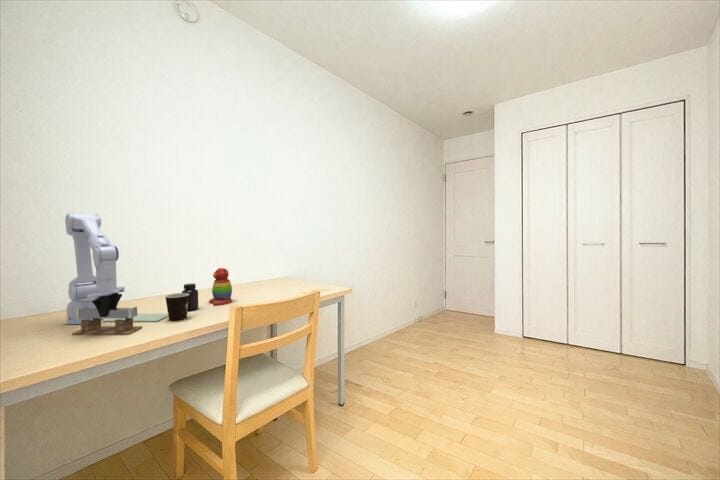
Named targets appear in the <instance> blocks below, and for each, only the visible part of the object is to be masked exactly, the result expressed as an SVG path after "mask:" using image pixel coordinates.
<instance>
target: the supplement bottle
mask: <svg viewBox="0 0 720 480" xmlns="http://www.w3.org/2000/svg"><path fill="white" fill-rule="evenodd" d="M196 287H197V286H196V283H184V284H183V290H182V291H181V293H188V294H189V301H188V310H187V312H192V311H196V310H198V309H199V290H198V289H196Z"/></svg>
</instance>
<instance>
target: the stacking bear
mask: <svg viewBox="0 0 720 480" xmlns="http://www.w3.org/2000/svg"><path fill="white" fill-rule="evenodd" d="M229 272H230V271H228V269H227V268H224V267H223V268H222V267H219V268H217V269H216V270H215V271H214V273H213V274H212V277H213V278H214V279H215V280H213V283H212V288H211V290H212V291H211V294H212V297H213V298H210V299H209V300H208V303H209V304H212V305H213V307H214V306H215V307H217V306H224V305H228V304H230V303H232V302H233V300H232V295H233V294H232V293H233V286H232V283H231V280H230V279H229V274H230V273H229Z"/></svg>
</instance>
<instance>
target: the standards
mask: <svg viewBox="0 0 720 480" xmlns="http://www.w3.org/2000/svg"><path fill="white" fill-rule="evenodd" d="M80 327H81V329H79V330H75V331H72V332H71V336H102V335H103V336H116V335H117V336H129V335H132V334H133V333H135V332H138V331H139V330H142V329H143V326H142V325H137V326H135V325H134V322H133V318H125V320H123V319H116V320H115V322H114V325H113V326H109V325H103V326H102V319H101V318H93V320H91V321H90V319H83V320H81V324H80Z"/></svg>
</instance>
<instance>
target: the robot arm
mask: <svg viewBox="0 0 720 480" xmlns="http://www.w3.org/2000/svg"><path fill="white" fill-rule="evenodd" d="M64 221H65V232H66V234H67V235H69V236H71V237H72V239H73V242H74V245H73V246H74V253H75V267H76V274H77V276H76V277H75V278H73V279H72V280H70V282H69V283H68V290H67V291H68V298H69V300H70V302H69V303H68V304H67V305H66V322H64V324H65V325H81V320H83V319H90V321H91V320H93V318H77V309H79V308H83V307H87V308H97V310H98V313H99V315H100V317H107V315H108V308H118V305H119V302H120V300H121V299H122V297H123V294H122V293H125V286H117V282H118V281H117V261H118V260H119V257H120V256H119V255H120V251H119V249H118V247H117V245H115V244H112V243H111V242H110V240H109V239H108V237H107V236H106V235H105V234H104V233H101V229H100V227H101V226H102V218H101V215H100V214H98V213H74V212H73V213H72V212H68V213H67V214H66V215H65V219H64ZM91 250H92V254H91ZM92 259H93V260H92ZM92 261H93V263H92ZM93 265H94V268H95V274H94V270H93ZM101 320H105V318H101Z"/></svg>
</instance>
